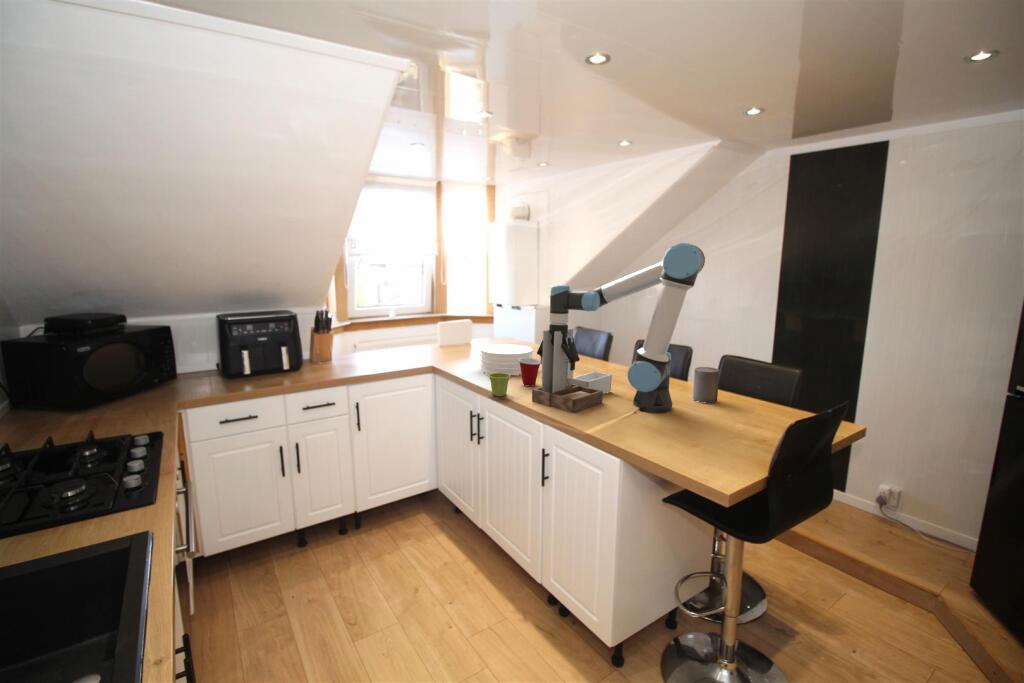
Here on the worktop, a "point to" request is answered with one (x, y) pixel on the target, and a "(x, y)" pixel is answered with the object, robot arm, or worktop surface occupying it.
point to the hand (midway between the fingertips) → (556, 375)
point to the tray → (568, 403)
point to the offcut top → (575, 395)
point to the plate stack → (503, 358)
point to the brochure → (555, 363)
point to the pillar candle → (706, 384)
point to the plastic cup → (529, 370)
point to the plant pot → (499, 383)
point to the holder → (594, 381)
